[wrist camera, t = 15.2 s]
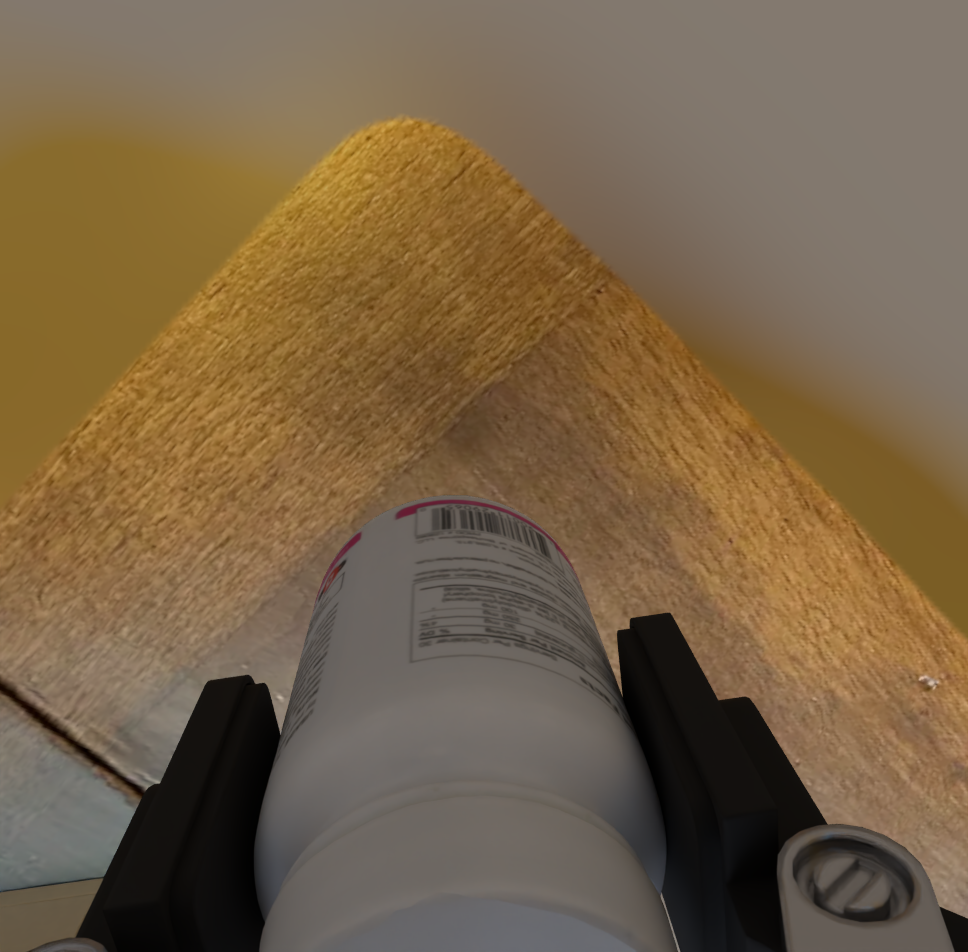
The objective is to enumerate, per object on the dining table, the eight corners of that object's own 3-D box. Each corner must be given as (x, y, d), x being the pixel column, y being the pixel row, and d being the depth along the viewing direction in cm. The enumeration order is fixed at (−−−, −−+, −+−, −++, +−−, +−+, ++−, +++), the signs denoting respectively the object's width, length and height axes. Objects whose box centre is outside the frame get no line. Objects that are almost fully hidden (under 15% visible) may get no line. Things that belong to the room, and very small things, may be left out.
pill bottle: (416, 767, 16) (397, 1318, 8) (263, 581, 15) (67, 1034, 7) (630, 643, 16) (829, 1112, 8) (492, 436, 14) (563, 755, 6)
